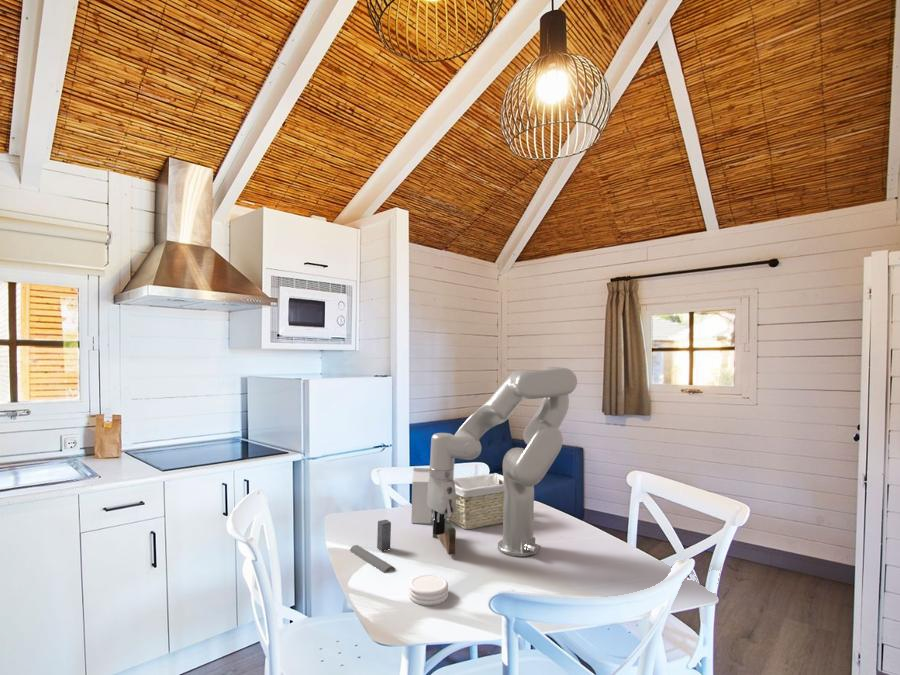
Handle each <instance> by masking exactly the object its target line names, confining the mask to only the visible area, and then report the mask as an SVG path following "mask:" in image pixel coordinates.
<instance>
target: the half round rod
mask: <svg viewBox="0 0 900 675" xmlns="http://www.w3.org/2000/svg"><path fill="white" fill-rule="evenodd" d="M350 551H351V552H350ZM349 552H350V553H352V554H353V553H354V554H353V555H355V556H357V557H358V558H359V559H361V560H363V561H364V562H365V563H367V564H369V565H370V566H372V567H374V568H375V567H376V568H375V569H377V570H378V569H379V572H381V573H387V571H388V572H391V571H393V569H394V570H395V569H396V567H394V566H393V565H391V564H390V563H388V562H386V561H384V560H383V559H382V558H380V557H378V556H376V555H374V554H373V553H371V552H369V551H368V550H366V549H365V548H363V547H362V546H359V545H358V544H354V545H352V546H351V547H350V549H349ZM390 570H391V571H390Z"/></svg>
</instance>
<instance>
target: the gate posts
mask: <svg viewBox="0 0 900 675" xmlns="http://www.w3.org/2000/svg"><path fill="white" fill-rule="evenodd" d="M433 521H434V520H433V519H432V522H433ZM391 528H392V522H391V521H389V519H381V520H377V534H376V535H377V536H376V539H377V541H376V542H377V544H376V545H377V546H376V548H378V549H379V550H378V549H377V550H378V551H380V550H381V551H383V552H385V551H384V550H388V549H390V550H391V540H392V539H391V537H392V536H391V535H392V534H391V531H392V529H391ZM432 538H433V539H438V537H437V536H436V535H435V534H434V533H433V532H432ZM381 551H380V552H381ZM388 551H389V550H388Z"/></svg>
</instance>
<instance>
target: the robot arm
mask: <svg viewBox="0 0 900 675" xmlns="http://www.w3.org/2000/svg"><path fill="white" fill-rule="evenodd" d="M576 375H577V374H576V373H575V372H574V371H572V370H571V369H569V368H567V367H560V366H547V367H546V368H544V369H543V370H523V369H518V370H514V371H513V372H511V373H510V374H509V375H508V376H507V378H506V379H505V380H504V381H503V382H502V383H501V385H500V386H499V387H498V388H497V390H495V392H493V394H492V395H491V396H490V398H489V399H488V400H487V401H486V402H485V403H484V404H483V405H481V406H480V407H479V408H478V409H477V410H476V411H474V412H473V413H472V414H471V415H470V416H469V417H468V418H467V419H466V420H465V421H464V423H462V425H461V426H460V427H459V428H458V429H457V431H456V432H455V434H452V433H450V432H437V433H434V434H432V436H431V440H430V441H431V442H430V460H429V468H430V474H429V482H428V489H427V506H428V507H429V510H430V511H431V512H432V534H433V533H434V534H435V535H439V534H444V528H445V521H446V519H449V520H450V518H451V512H452V513H453V512H455V509H456V491H455V482H454V480H453V478H455V476H454V474H455V460H456V459H459V460H466V461H470V460H474V459H477V458H478V457H479V456H480V455H481V452H482V445H481V442H480V439H481V438H482V437H483V436H484V434H485V433H486V432H488V431H489V430H490V429H492V428H494V427H496V426H497V425H500V424H503V423H505V422H506V421H507V420H508V419H510V417H511V416H512V415H513V413H514V412H515V411H516V410H517V409H518V408H519V406H520V405H521V404H522V403H523V402H524V401H525V400H526V399H527V400H535V399H536V400H537V399H542V402H541V403H540V405H539V406H538V409H537V411H536V412H535V414H534V415H533V417H532V418H531V419H530V422H528V424H527V426H526V427H525V429H524V431H523V434H522V436H523V440H524V443H525V444H526V446H525V448H523V447H512V448H510V449H509V450H508V451H506V453H505V454H504V456H503V459H502V474H503V475H502V476H503V478H504V506H503V523H502V539H501V540H500V541H498V542H497V549H498V551H500V552H501V553H502V554H505V555H508V556H511V557H529V555H531V556H533V554H534V555H536V554H538V552H539V550H540V549H541V545H540V544H538V543H536V537H535V536H534V514H535V513H534V511H535V510H534V506H535V505H534V503H535V502H534V500H535V487H534V486H535V485H537V484H539V482H541V481H542V480H543V479H544V477H545V476H546V474H547V472H548V471H549V470H550V469H551V466H552V465H553V464H554V462H555V460H556V458H557V457H558V455H559V453H560V452H561V449H562V446H563V434H562V432H561V430H560V429H559V428H560V426H561V425H562V423H563V422H564V420H565V418H566V415H567V413H568V411H569V407H570V405H569V404H570V398H569V397H570V396H569V395H570V394H572V393H573V392H574V391H575V390H576V387H577V386H578V385H577V384H578V379H577V376H576ZM433 520H434V521H433Z"/></svg>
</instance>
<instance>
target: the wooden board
mask: <svg viewBox="0 0 900 675" xmlns="http://www.w3.org/2000/svg"><path fill="white" fill-rule="evenodd" d="M456 531H457V530H456V528H455V526H453V525H452V523H451V522H450V521H449V520H448V519H446V521H445V528H444V534H439V535H436V536H437V537H438V538H437V539H438V540H439V542H440V543H441V545H442V546H443V547H444V549H445V551H446V552H447V554H448V555H449V556H451V555H456V540H457V539H456V538H457V537H456V534H457V533H456Z"/></svg>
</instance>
